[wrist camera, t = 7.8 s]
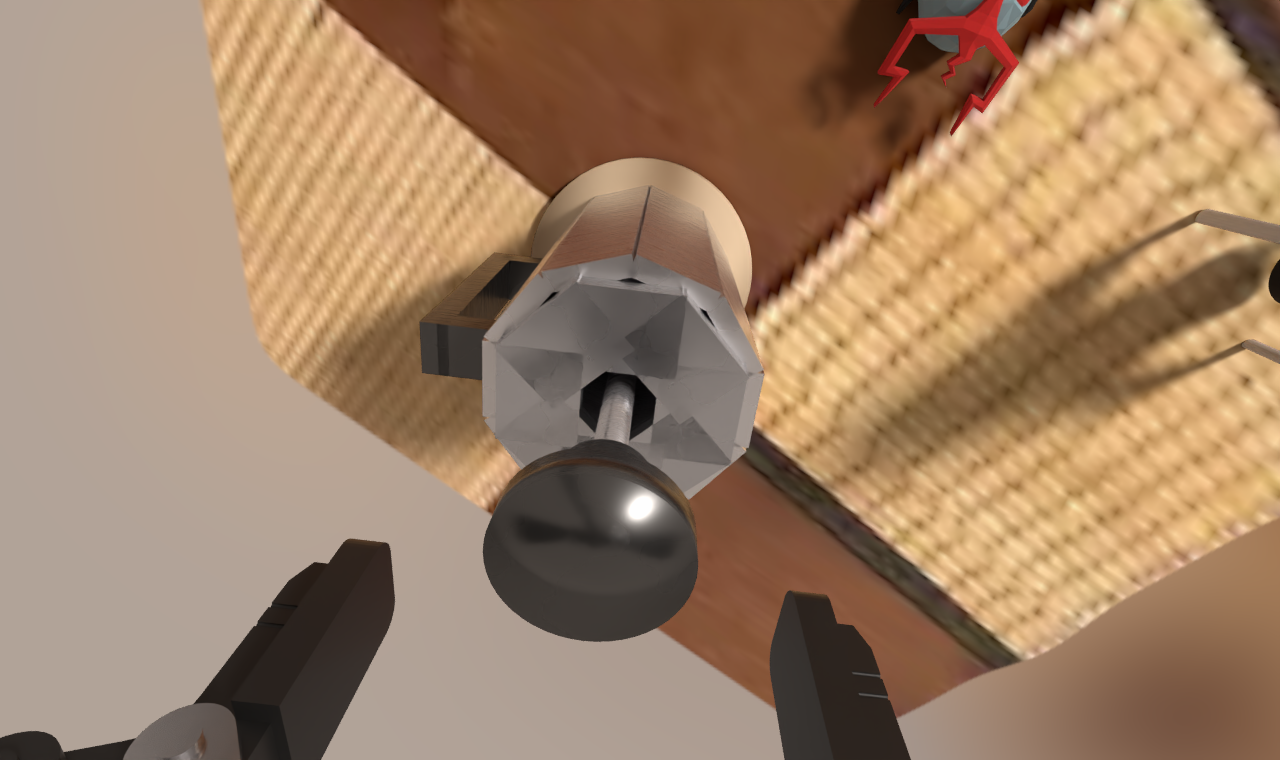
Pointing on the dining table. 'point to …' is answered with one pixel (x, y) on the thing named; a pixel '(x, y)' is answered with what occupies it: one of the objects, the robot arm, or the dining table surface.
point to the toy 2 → (1257, 229)
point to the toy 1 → (960, 39)
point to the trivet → (650, 173)
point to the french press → (610, 338)
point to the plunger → (594, 535)
